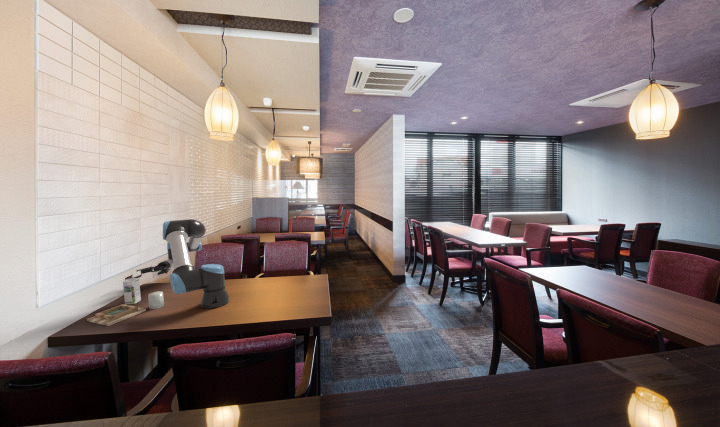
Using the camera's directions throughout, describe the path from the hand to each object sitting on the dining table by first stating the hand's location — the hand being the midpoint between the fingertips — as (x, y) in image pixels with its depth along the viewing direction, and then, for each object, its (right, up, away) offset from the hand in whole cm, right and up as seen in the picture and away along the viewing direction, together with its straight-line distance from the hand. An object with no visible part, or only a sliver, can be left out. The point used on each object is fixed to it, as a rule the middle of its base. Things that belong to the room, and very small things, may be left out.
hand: (142, 275), depth 180 cm
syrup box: (+1, -15, -8) cm, 17 cm away
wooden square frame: (+7, -16, -27) cm, 32 cm away
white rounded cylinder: (+20, -15, -16) cm, 30 cm away
